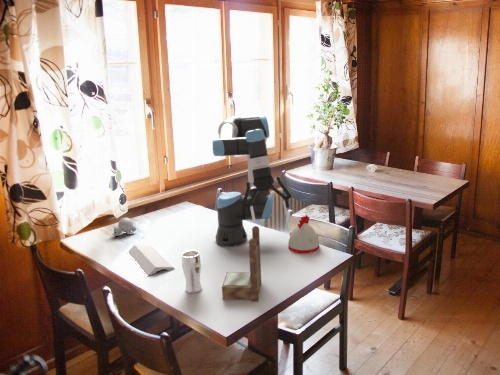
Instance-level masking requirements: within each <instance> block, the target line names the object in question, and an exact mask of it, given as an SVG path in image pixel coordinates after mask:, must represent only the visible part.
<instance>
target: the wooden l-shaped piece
mask: <svg viewBox="0 0 500 375" xmlns="http://www.w3.org/2000/svg"><path fill="white" fill-rule="evenodd" d="M251 232H252V238H250V239H249V240H248V253H249V254H248V256H249V272H245V271H243V272H241V271H240V272H239V271H234V272H233V271H226V274H225V277H224V279H223V283H222V286H221V292H222V295H221V296H222V300H236V301H237V300H243V301H245V300H246V301H251V302H256V303H257V302H259V299H260V298H259V297H260V296H259V294H260V288H261V286H262V269H261V268H262V266H261V245H260V244H261V243H260V241H261V240H260V228H259V226H258V225H257V226H256V225H255V226H252V228H251Z"/></svg>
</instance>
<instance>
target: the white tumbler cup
mask: <svg viewBox="0 0 500 375" xmlns="http://www.w3.org/2000/svg"><path fill="white" fill-rule="evenodd" d="M181 265H182V271H183V275H184V279H185V292H187V293H189V294H195V293H199V292H200V291H202V284H201V271H202V270H201V269H202V268H201V267H202V263H201V256H200V251H199V250H196V249H194V250H193V249H191V250H190V249H189V250H185V251H183V252H182V253H181Z"/></svg>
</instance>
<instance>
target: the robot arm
mask: <svg viewBox="0 0 500 375" xmlns="http://www.w3.org/2000/svg"><path fill="white" fill-rule="evenodd" d="M217 134H218V138H213V140H212V152H213V155H214V157H229V156H230V157H231V156H232V157H233V156H247V158H246V159H247V178H248V182H246V191H245V194H244V195H242V193H241V192H240V191H228V192H225V193H223V194H221V195H219V196H217V200H216V209H217V210H216V211H217V224H218V225H217V231H216V234H215V243H216V244H217V245H219V246H222V247H237V246H241V245H243V244H246V242H247V241H248V234H247V232H246V229H245V227H244V224H243V221H249V220H252V223H255V222H256V220H266V219H267V220H268V219H271V218H272V216H273V209H274V208H273V207H274V194H273V193H271V190H272V191H274V192H275V193H276V194H277V195H279V196H280V197H281V198H282V199H283V200H282V204H283V209H284V213H285V214H284V215H285V217H286V218H288V217H289V213H288V209H289V208H290V203H289V199H291V198H292V197H293V195H292V193H291V192H290V191H289V189H288V188H287V187H286V186H285V184H284V183H283V182H282V179H281V177H280V176H277V177H273V175H272V174H273V173H272V170H271V167H270V165H271V164H270V158H269V155H268V148H267V140H268V138H270V129H269V122H268V118H267V117H266V115H264V114H254V115H234V116H231V117H227V118H226V119H224V120H223V121H222V122H221V123H220V124H219V126H218V130H217ZM274 182H275V183H277V184H279V185H278V186H280V188H281V189H282V190H283V192H284V193H285V194H284V193H283V192H281V191H280V190H279V189H278V188H277V187H276V186H274ZM286 195H287V196H286Z"/></svg>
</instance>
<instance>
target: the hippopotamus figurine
mask: <svg viewBox="0 0 500 375" xmlns="http://www.w3.org/2000/svg"><path fill="white" fill-rule="evenodd" d="M133 222H134V221H133V220H132V218H129V217H122V218H120V220H119V221H118V226H112V227H113V232H111V235H112V236H113V237H114V236H118V235H119V236H120V234H122V232H123V233H124V232H126V233H127V234H130V233H131V234H132V233H133V232H136V231H137V227H136V226H135V225H134V223H133ZM126 233H125V234H126ZM127 234H126V235H127ZM131 234H130V235H131ZM119 236H118V237H119Z"/></svg>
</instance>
